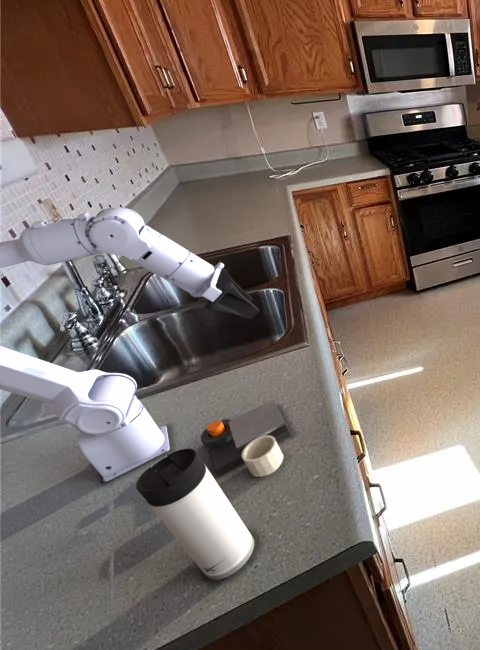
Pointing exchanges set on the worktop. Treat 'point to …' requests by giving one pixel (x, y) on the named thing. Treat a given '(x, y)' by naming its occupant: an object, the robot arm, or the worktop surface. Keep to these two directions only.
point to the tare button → (215, 428)
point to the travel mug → (197, 513)
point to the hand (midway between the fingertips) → (251, 308)
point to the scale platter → (256, 424)
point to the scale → (232, 446)
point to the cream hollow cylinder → (262, 456)
